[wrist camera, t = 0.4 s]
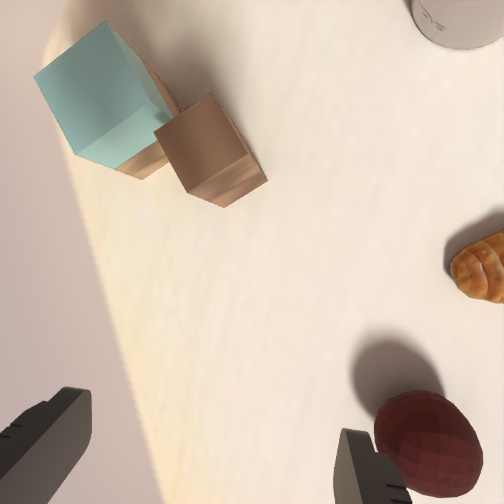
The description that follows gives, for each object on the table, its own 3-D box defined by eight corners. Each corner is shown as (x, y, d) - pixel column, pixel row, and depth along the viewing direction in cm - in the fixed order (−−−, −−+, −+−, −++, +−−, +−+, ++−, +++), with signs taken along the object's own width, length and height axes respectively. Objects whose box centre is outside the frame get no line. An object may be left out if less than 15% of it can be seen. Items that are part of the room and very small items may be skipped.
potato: (452, 468, 30) (492, 534, 24) (362, 447, 32) (375, 504, 25) (465, 387, 30) (511, 430, 23) (374, 370, 31) (391, 406, 24)
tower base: (165, 84, 35) (140, 57, 30) (198, 142, 34) (179, 125, 29) (111, 122, 36) (78, 103, 31) (142, 180, 35) (114, 169, 30)
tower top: (140, 57, 30) (105, 20, 25) (178, 125, 29) (150, 101, 24) (78, 103, 31) (33, 76, 26) (113, 169, 30) (75, 154, 25)
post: (242, 136, 33) (212, 91, 23) (268, 180, 33) (248, 153, 23) (199, 164, 34) (153, 132, 24) (224, 207, 34) (186, 192, 24)
